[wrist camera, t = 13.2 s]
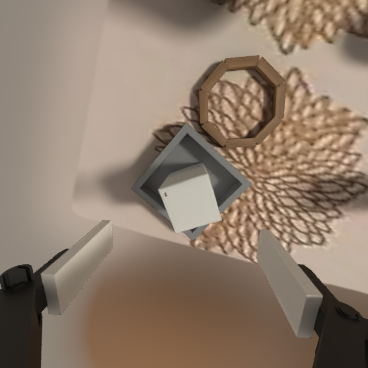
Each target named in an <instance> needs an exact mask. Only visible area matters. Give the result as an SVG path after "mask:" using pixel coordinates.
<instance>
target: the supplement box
mask: <svg viewBox="0 0 368 368" xmlns="http://www.w3.org/2000/svg"><path fill="white" fill-rule="evenodd" d="M158 191H159V194H160V196H161V198H162V201H163V203H164V206H165V208H166V210H167V213H168V215H169V218H170V220H171V223H172V225H173V228H174V230H175V233H179V232H182V231H186V230H189V229H193V228H196V227H200V226H203V225H207V224H210V223H213V222H217V221H220V220H222V219H221V215H220V212H219V208H218V205H217V201H216V198H215V195H214V191H213V188H212V185H211V182H210V178H209V175H208V173H207V171H206V169H205V166H204V164H203V163H198V164H195V165H192V166H189V167H186V168H183V169H180V170H178V171H175V172H172V173H170V174H169V175H168V177H167V178H166V180H165V181H164V182H163V184H162V185H161V186H160V188H159V189H158Z"/></svg>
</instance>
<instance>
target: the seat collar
mask: <svg viewBox="0 0 368 368" xmlns="http://www.w3.org/2000/svg"><path fill="white" fill-rule="evenodd" d="M247 69H255V70H256V71H257V72H258V73H259V74H260V75H261V76H262V77H263V79H264V80H265V81H266V82H267V83H268V84H269V85H270V86H271V87H272V88H273V105H272V118H271V119H270V120H269V121H268V122H267V123H266V124H265V125H264V126H263V127H262V128H261V129H260V130H259V131H258V132H257V134H256V135H255V136H254V137H253V138H245V139H228V140H227V139H226V138H225V137H224V136H223V135H222V134H221V133H220V132H219V131H218V130H217V129H216V128H215V127H214V126H213V125H212V124H211V123H210V122H209V121H208V92H209V91H210V90H211V89H212V88H213V86H214V85H215V84H216V83H217V82H218V80H219V79H220V78H221V77H222V76H223V74H224V73H225V72H226V71H236V70H247ZM284 81H285V80H284V79H283V78H282V77H281V76H280V75H279V73H278V72H277V71H276V70H275V69H274V68H273V67H272V66H271V65H270V64H269V63H268V62H267V61H266V60H265V59H264V58H263V57H262V58H261V59H260V60H259V55H257V56H247V57H236V58H226V59H225V61H223V60H222V61H221V63H220V64H219V65H218V66H217V68H216V69H215V70H214V71H213V72H212V74H211V75H210V76H209V77H208V79H207V80H206V81H205V82H204V83H203V85H202V86H201V87H200V90H201V91H199V109H200V124H203V125H202V126H201V127H202V128H203V129H204V130H205V131H206V132H207V133H208V134H209V135H210V136H211V137H212V138H213V139H215V140H216V141H217V142H218V143H219V144H220V145H221V146H222V147H223V146H224V145H225V148H231V147H249V146H256V145H259V144H260V143H261V142H262V141H263V140H264V139H265V138H266V137H267V136H268V135H269V134H270V133H271V132H272V131H273V130H274V129H275V128H276V127H277V126H278V125H279V124H280V123H281V122H282V120H281V119H282V118H284V107H285V93H286V84H282V83H283V82H284Z"/></svg>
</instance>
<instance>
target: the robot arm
mask: <svg viewBox="0 0 368 368" xmlns="http://www.w3.org/2000/svg"><path fill="white" fill-rule="evenodd" d="M112 238H113V237H112V224H111V221H110V220H102V221H101V222H100V223H99V224H98V225H97V226H96V227H94V228H93V229H92V230H91V231H90V232H89V233H87V234H86V235H85V236H84V237H83V238H82V239H81V240H79V241H78V242H77V243H76V244H75V245H74V246H72V247H71V248H70V249H65V250H63V251H61V252H59V253H58V254H57V255H55V256H54V257H53V259H51V260H50V261H48V263H46V264H45V265H43V266H42V267H41V268H40V269H39V270H38V271H36V272H35V273H34V274H33V269H32V266H31V265H29V264H23V265H18V266H15V267H13V268H11V269H9V270H7V271H5V272H4V273H2V275H1V276H0V284H1V287H2V289H0V368H41V346H42V313H41V312H42V311H43V310H44V309H45V308H46V306H47V308H48V313H49V314H54V315H62V314H63V312H64V311H65V310H66V308H67V307H68V306H69V305H70V303H71V302H72V301H73V299H74V298H75V297H76V295H77V294H78V293H79V291H80V290H81V289H82V287H83V286H84V285H85V284H86V282H87V281H88V280H89V278H90V277H91V276H92V275H93V273H94V272H95V271H96V269H97V268H98V267H99V265H100V264H101V263H102V262H103V260H104V259H105V257H106V256H107V255H108V254H109V253H110V251H111V250H112V249H113V239H112ZM256 258H257V260H258V262H259V264H260V266H261V268H262V270H263V271H264V273H265V275H266V277H267V279H268V281H269V283H270V285H271V287H272V289H273V291H274V293H275V295H276V297H277V299H278V301H279V303H280V305H281V307H282V309H283V310H284V313H285V315H286V317H287V319H288V321H289V323H290V325H291V327H292V329H293V331H294V332H295V335H296V337H302V338H312V335H313V331H314V330H315V332H316V333H317V335H318V337H319V340H318V344H317V347H316V351H315V358H314V362H313V367H312V368H368V319H365V318H363V317H362V316H361V315H360V313H359V312H357V311H356V310H355V309H354V308H352V307H351V306H349V305H347V304H345V303H342V302H340V301H338V300H337V299H336V298H335V297H334V295H333V294H332V293H331V292H330V291H329V290H328V289H327V287H326V286H325V285H324V284H323V283H322V282H321V281H320V280H319V278H317V276H316V275H315V274H314V273H313V272H312V270H310V269H309V268H307V267H306V266H305V265H301V264H297V263H296V262H295V261H294V259H293V258H292V257H291V256H290V254H289V253H288V252H287V251H286V250H285V248H284V247H283V246H282V245H281V243H280V242H279V241H278V240H277V238H276V237H275V236H274V235H273V233H272V232H271V231H270V230H262V229H260V236H259V243H258V250H257V256H256Z"/></svg>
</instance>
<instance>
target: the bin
mask: <svg viewBox="0 0 368 368" xmlns="http://www.w3.org/2000/svg"><path fill="white" fill-rule="evenodd" d="M198 163H203V164H204V166H205V169H206V171H207V173H208V175H209V178H210V182H211V185H212V188H213V191H214V195H215V198H216V201H217V205H218V208H219V212H220V214H221V213H222V212H223V211H224V210H225V209H226V208H227V207H228V206H229V205H230V204H231V203H232V202H233V201H235V200H236V199H237V198H238V197H239V196H240V195H241V194H242V193H243V192H244V191H245V190H246V189H247V188H248V187H249V186H250V185H251V184H252V183H251V182H250V181H249V180H248V179H246V178H245V177H244V176H243V175H242V174H241V173H240V172H239V171H238V170H237V169H236V168H235V167H234V166H233V165H232V164H230V163H229V162H228V161H227V160H226V159H225V158H224V157H223V156H222V155H221V154H220V153H219V152H218V151H217V150H215V149H214V148H213V147H212V146H211V145H210V144H209V143H208V142H207V141H206V140H205V139H204V138H203V137H202V136H200V135H199V134H198V133H197V132H196V131H195V130H194V129H193V128H192V127H191V126H190V125H189V124H188V123H186V124H185V125H184V126H183V127H182V129H181V130H180V131H179V132H178V133H177V135H176V136H175V137H174V138H173V139H172V141H171V142H170V143H169V144H168V145H167V146H166V148H165V149H164V150H163V151H162V152H161V154H160V155H159V156H158V157H157V158H156V160H155V161H154V162H153V163H152V164H151V165H150V167H149V168H148V169H147V170H146V171H145V173H144V174H143V175H142V176H141V177H140V179H139V180H138V181H137V182H136V183H135V184H134V186H133V187H132V188H131V189H132V190H133V191H135V192H136V193H137V194H138V195H139V196H141V197H142V198H143V199H144V200H145V201H146V202H148V203H149V204H150V205H151V206H152V207H154V208H155V209H156V210H157V211H158V212H160V213H161V214H162V215H163V216H164V217H166V218H167V219H168V220H169V221H170V222H171V220H170V218H169V215H168V213H167V210H166V208H165V206H164V203H163V201H162V198H161V196H160V194H159V191H158V189H159V188H160V186H161V185H162V184H163V182H164V181H165V180H166V178H167V177H168V175H169V174H170V173H172V172H175V171H178V170H180V169H183V168H186V167H189V166H192V165H195V164H198ZM208 225H209V224H207V225H203V226H200V227H196V228H193V229H189V230H186V231H182V232H183V233H185V234H186V235H187V236H188V237H189V238H190V239H192V240H194V239H195V238H196V237H197V236H198V235H199V234H200V233H201V232H202V231H203V230H204V229H205V228H206V227H207V226H208Z"/></svg>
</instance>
